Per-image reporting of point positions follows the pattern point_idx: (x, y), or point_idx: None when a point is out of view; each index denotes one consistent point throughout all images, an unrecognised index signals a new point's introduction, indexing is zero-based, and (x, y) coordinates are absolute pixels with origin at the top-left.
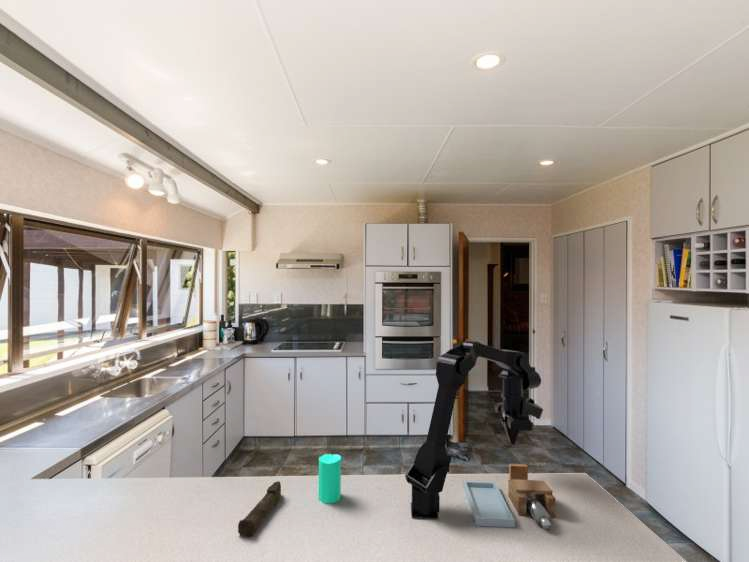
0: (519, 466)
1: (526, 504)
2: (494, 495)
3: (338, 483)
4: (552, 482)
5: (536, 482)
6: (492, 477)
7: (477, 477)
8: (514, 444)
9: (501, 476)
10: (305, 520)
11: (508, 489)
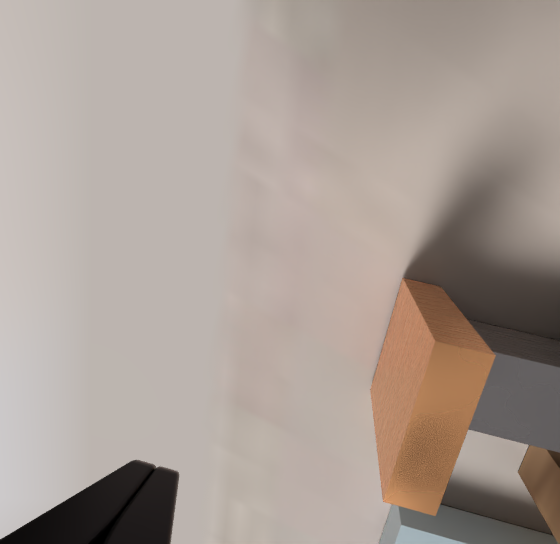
0: (464, 437)
1: None
2: None
3: None
4: (392, 18)
5: None
6: (253, 435)
7: (244, 517)
8: (177, 472)
9: (244, 373)
10: None
11: (544, 512)
